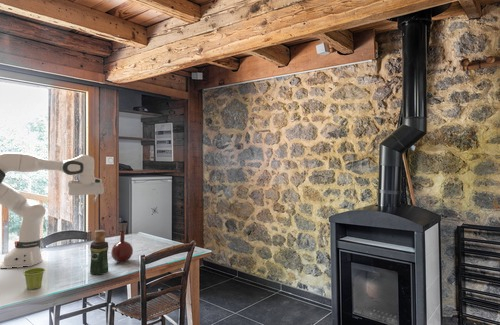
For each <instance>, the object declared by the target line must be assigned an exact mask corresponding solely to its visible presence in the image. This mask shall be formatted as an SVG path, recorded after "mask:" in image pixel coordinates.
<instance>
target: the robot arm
mask: <svg viewBox="0 0 500 325" xmlns="http://www.w3.org/2000/svg"><path fill="white" fill-rule="evenodd" d="M44 170H45V171H46V170H47V171H58V172H62V173H65V174H66V175H68V176H74V175H78V180H76V179H75V180H69V181H68V183H67V186H68V195H69V196H74V197H75V199H76V203H80V202H81V201H80V200H81V199H79V198H78V197H79V196H83V195H85V196H87V195H94V196H95V197H94V198H92V200H93V201H92V202H96V201H97V198H98V196H99V195H103V194H104V193H105V188H104V184H103V179H101V178H98V177H95V172H94V171H95V159H94V157H93V156H91V155H90V154H89V155H88V154H80V155H79V156H76V157H74V158H70V159H65V160H53V159H45V158H42V157H40V156H37V155H33V154H30V153H25V152H24V153H23V152H2V153H0V205H1V206H3V207H5V208H7V209H8V210H9V211H11V212H12V213H14V214H15V215H17V216H19V217H21V218H22V221H21V226H20V227H19V228H18V240H15V241H14V248H12V249H11V250H10V251H8V252H7V253H6V254H5V255H4V258H3V261H2V262H0V269H1V268H7V269H13V268H12V267H17V268H24V267H23V266H28V267H32V266H34V265H37V264H40V263H42V262H43V261H44V259H43V257H42V253H41V252H42V251H41V248H42V240H41V225H42V220H43V218H44V216H45V215H46V207H45V206H44V205H43V204H42V203H41V202H37V201H34V200H31V199H29V198H27V197H26V196H25V195H23V194H22V193H21V192H20V191H19V190H17V189H15V188H14V187H12V186H11V185H9V184H7V183H6V182H4V179H5V178H6V176H7V175H6V174H7V173H9V172H18V173H33V172H38V171H44Z"/></svg>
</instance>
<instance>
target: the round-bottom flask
mask: <svg viewBox="0 0 500 325" xmlns="http://www.w3.org/2000/svg"><path fill="white" fill-rule="evenodd" d="M125 232H126V231H125V230H120V231H119V234H120V235H119V236H120V237H119V241H118V242H116V243H115V244H114V245H113V246H112V248H111V250H110V251H111V258H112V260H114V261H116V262H117V263H126V262H127V261H129V260H130V259H131V257H132V256H133V253H134V248H133V246H132V243H130V242H128V241H125V236H126V235H125Z"/></svg>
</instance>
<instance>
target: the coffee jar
mask: <svg viewBox="0 0 500 325" xmlns="http://www.w3.org/2000/svg"><path fill="white" fill-rule="evenodd" d="M89 250H90V267H89V274H92V275H96V276H97V275H99V276H100V275H106V274H107V273H108V272H109V262H108V261H109V260H108V251H109V242H108V241H105V242H100V243H95V242H94V241H92V242H90V247H89Z"/></svg>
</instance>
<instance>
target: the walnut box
mask: <svg viewBox="0 0 500 325" xmlns="http://www.w3.org/2000/svg"><path fill="white" fill-rule="evenodd" d="M93 242H95V243H100V242H106V231H105V229H96V230H94V231H93Z"/></svg>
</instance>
